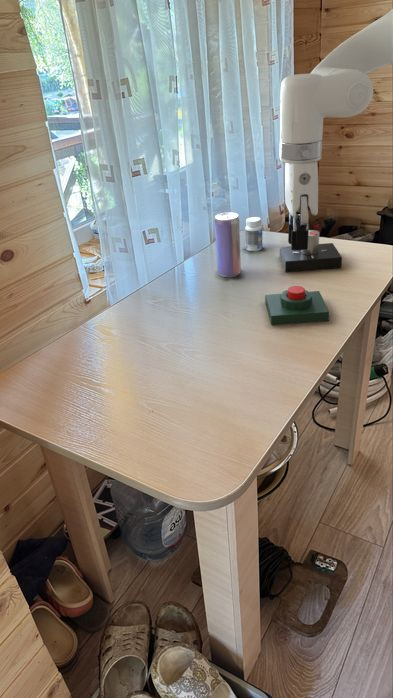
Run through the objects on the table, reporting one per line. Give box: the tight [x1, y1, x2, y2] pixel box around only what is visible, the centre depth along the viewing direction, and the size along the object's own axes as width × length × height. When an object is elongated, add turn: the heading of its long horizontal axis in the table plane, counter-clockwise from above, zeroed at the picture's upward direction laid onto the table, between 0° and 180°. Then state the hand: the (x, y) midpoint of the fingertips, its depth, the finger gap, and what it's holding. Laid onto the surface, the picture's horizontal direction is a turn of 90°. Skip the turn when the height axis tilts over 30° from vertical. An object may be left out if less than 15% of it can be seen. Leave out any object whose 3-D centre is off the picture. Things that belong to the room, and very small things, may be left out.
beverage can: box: [214, 211, 242, 279], centre depth 128 cm, size 6×6×15 cm
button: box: [287, 285, 306, 300], centre depth 109 cm, size 4×4×2 cm
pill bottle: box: [244, 216, 263, 252], centre depth 143 cm, size 5×5×8 cm
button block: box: [264, 289, 330, 326], centre depth 111 cm, size 12×10×4 cm
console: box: [279, 242, 343, 273], centre depth 133 cm, size 14×10×3 cm
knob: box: [301, 229, 321, 255], centre depth 130 cm, size 4×4×5 cm
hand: (297, 245), depth 104 cm, fingers closed
